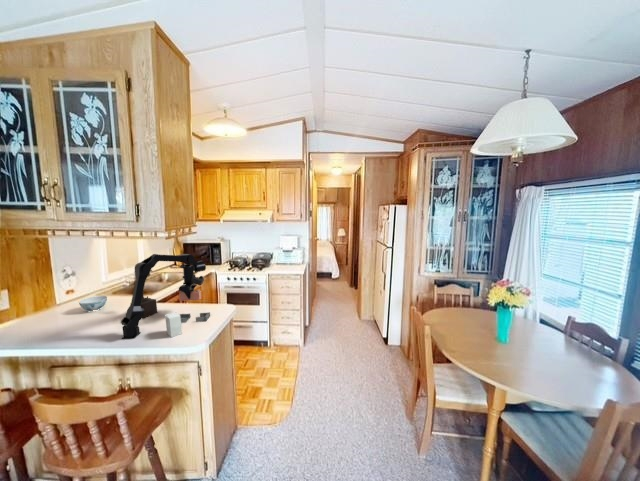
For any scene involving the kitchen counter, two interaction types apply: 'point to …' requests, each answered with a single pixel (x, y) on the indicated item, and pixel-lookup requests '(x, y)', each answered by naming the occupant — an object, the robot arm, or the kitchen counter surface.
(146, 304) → the dark brown boxy piece
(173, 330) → the small box
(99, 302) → the chinaware
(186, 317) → the shallow metal tray
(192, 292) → the link
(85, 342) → the kitchen counter surface
